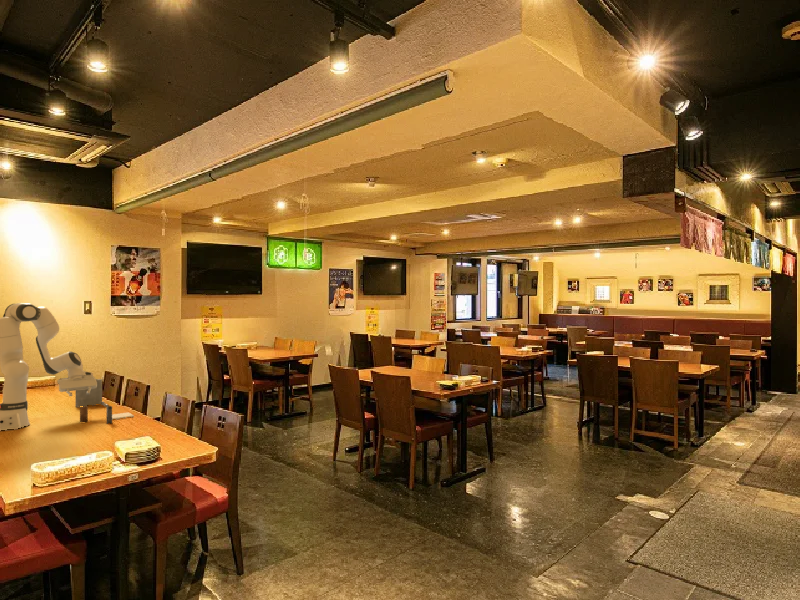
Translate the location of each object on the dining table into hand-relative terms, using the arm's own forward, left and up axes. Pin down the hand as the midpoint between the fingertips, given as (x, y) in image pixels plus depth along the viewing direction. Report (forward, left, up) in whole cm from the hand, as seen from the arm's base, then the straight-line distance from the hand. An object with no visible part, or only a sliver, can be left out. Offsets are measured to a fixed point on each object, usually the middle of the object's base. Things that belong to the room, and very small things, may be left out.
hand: (79, 394), depth 316 cm
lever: (+10, -17, -15) cm, 25 cm away
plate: (+20, -12, -15) cm, 28 cm away
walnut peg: (0, -12, -15) cm, 19 cm away
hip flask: (+13, +42, -15) cm, 47 cm away
